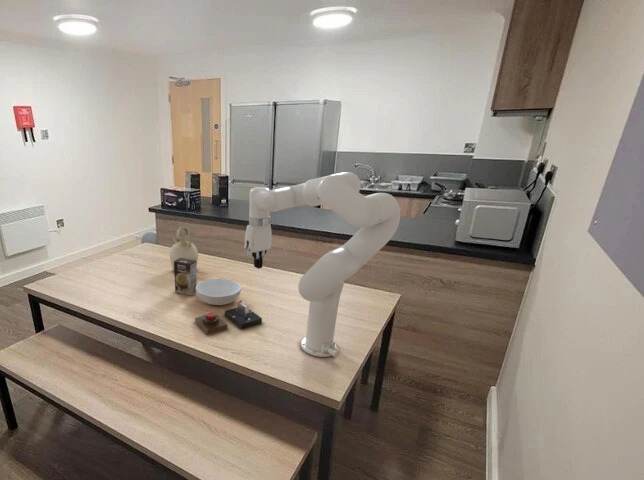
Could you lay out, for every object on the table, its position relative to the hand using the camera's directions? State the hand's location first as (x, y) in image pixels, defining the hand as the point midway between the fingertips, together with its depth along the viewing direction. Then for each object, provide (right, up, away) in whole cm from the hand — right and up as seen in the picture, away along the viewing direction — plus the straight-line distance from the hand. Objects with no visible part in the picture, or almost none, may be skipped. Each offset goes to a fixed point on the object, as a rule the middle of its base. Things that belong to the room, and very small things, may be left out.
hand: (258, 267), depth 148 cm
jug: (-33, 0, +61) cm, 70 cm away
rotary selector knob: (-5, -19, +8) cm, 22 cm away
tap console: (-5, -22, +9) cm, 24 cm away
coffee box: (-31, -11, +36) cm, 48 cm away
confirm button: (-19, -20, +4) cm, 28 cm away
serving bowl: (-15, -15, +26) cm, 34 cm away
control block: (-19, -24, +5) cm, 30 cm away
